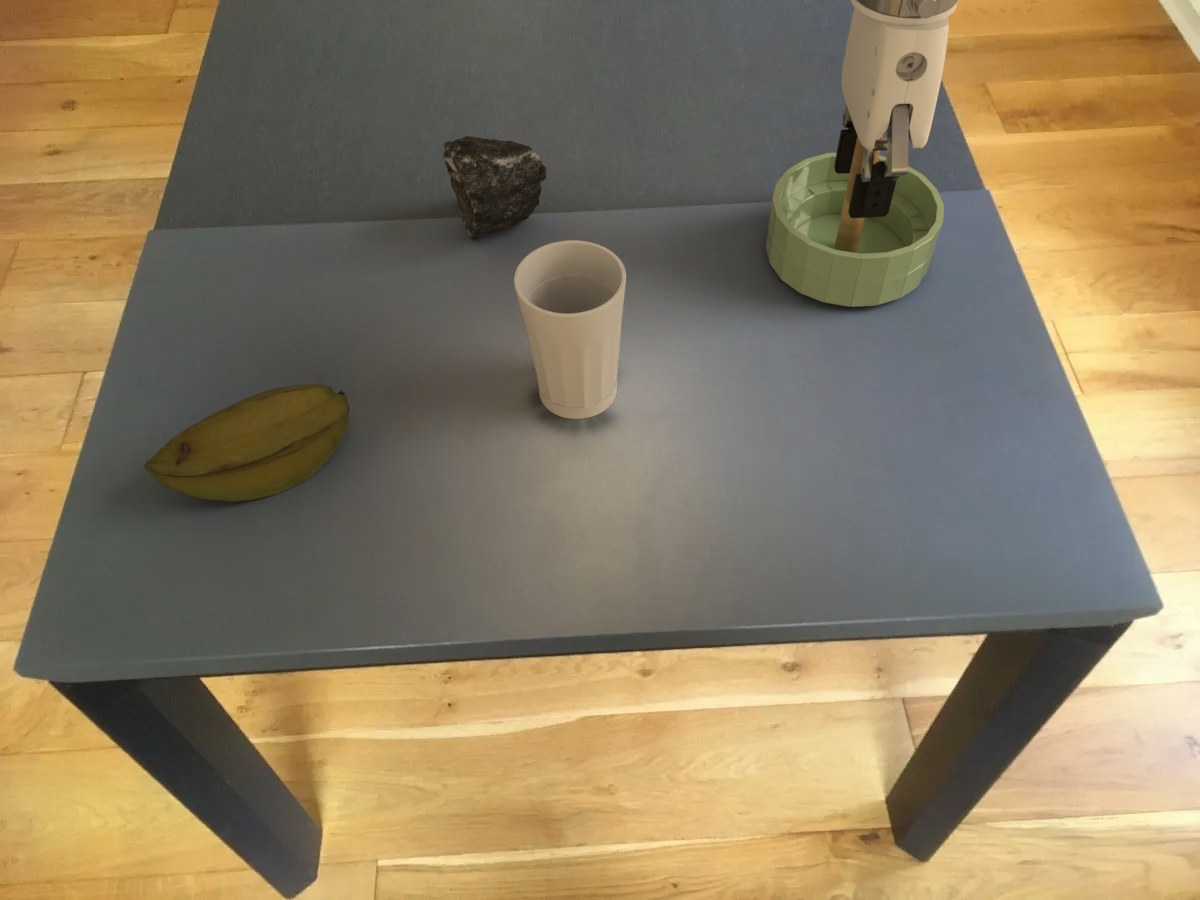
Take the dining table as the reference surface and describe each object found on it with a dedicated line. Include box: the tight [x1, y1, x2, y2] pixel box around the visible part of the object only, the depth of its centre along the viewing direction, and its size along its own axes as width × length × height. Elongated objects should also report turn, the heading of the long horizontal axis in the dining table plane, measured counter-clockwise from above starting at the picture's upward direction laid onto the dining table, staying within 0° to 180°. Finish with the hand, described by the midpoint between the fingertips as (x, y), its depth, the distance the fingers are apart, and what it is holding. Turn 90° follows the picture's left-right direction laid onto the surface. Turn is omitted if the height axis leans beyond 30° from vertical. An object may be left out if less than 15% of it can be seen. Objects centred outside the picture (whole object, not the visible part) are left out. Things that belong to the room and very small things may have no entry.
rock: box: [442, 135, 547, 241], centre depth 87 cm, size 8×7×10 cm
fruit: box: [143, 383, 350, 503], centre depth 72 cm, size 11×12×7 cm
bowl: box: [765, 151, 945, 308], centre depth 85 cm, size 14×14×6 cm
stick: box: [834, 135, 884, 253], centre depth 82 cm, size 2×2×12 cm
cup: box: [513, 239, 627, 420], centre depth 74 cm, size 8×8×12 cm
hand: (860, 190), depth 82 cm, fingers open, 5 cm apart
